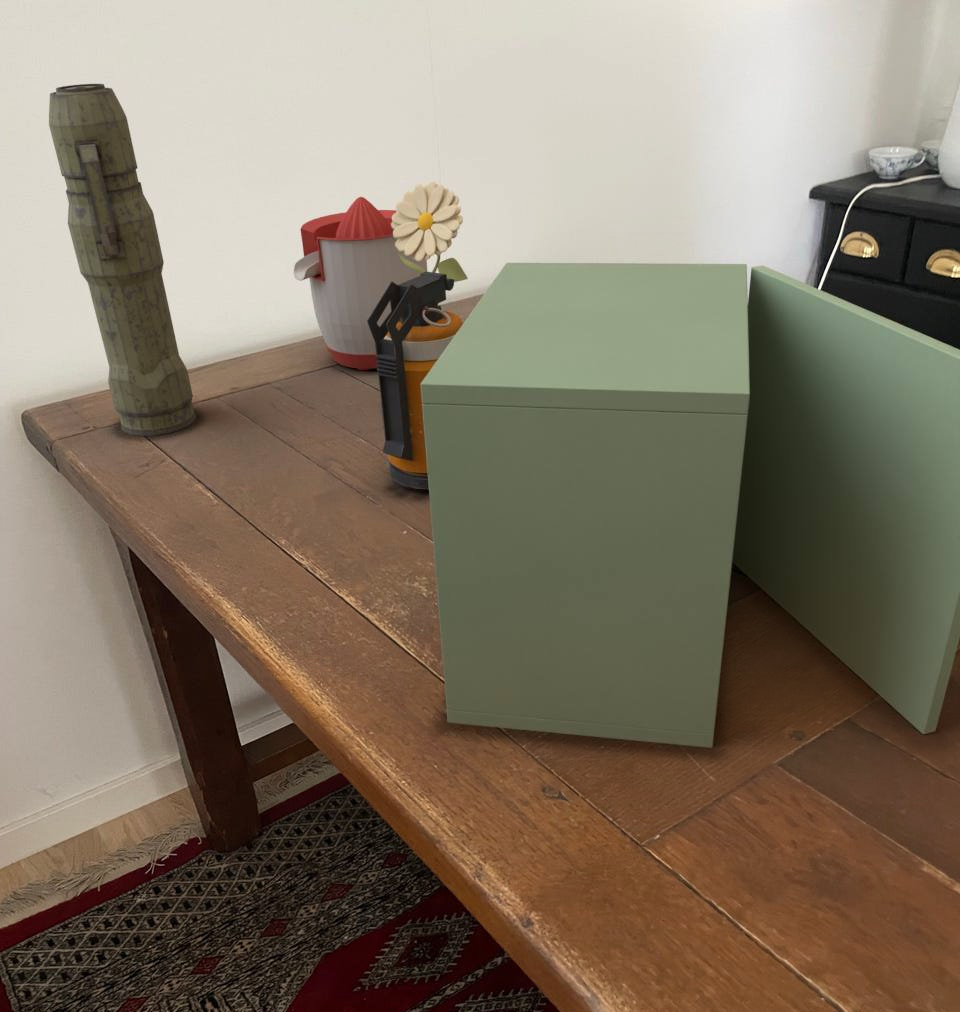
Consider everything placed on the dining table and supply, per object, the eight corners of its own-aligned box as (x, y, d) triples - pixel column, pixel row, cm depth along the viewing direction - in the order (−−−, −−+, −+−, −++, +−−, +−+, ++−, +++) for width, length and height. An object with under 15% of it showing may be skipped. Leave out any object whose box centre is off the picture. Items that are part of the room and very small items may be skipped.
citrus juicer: (289, 355, 139) (265, 197, 128) (405, 331, 145) (392, 179, 134) (331, 388, 127) (309, 218, 116) (455, 361, 134) (445, 197, 122)
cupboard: (718, 554, 89) (746, 263, 75) (712, 749, 68) (750, 393, 54) (514, 541, 92) (506, 262, 79) (447, 723, 71) (419, 383, 57)
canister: (495, 468, 105) (487, 268, 94) (431, 511, 98) (414, 300, 87) (425, 451, 110) (410, 258, 99) (359, 491, 102) (334, 288, 91)
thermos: (192, 398, 127) (123, 77, 107) (201, 432, 117) (128, 87, 98) (118, 410, 124) (35, 85, 105) (122, 445, 115) (31, 96, 96)
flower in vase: (363, 408, 121) (337, 181, 107) (437, 383, 127) (421, 164, 113) (432, 438, 113) (414, 195, 99) (508, 409, 119) (501, 177, 105)
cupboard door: (801, 537, 90) (843, 253, 77) (1020, 708, 69) (1130, 359, 56) (722, 554, 88) (751, 266, 75) (923, 735, 67) (1012, 381, 54)
